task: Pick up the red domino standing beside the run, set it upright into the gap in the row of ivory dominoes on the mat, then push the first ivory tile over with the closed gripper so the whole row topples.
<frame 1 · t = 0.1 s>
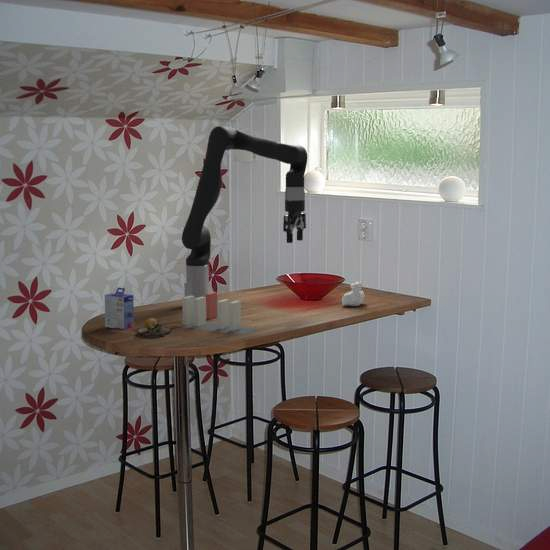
hand: (294, 241, 289), 29 cm above the counter, tool pointing down, fingers open, 8 cm apart
red domino: (211, 318, 291), on the counter
domino d: (235, 329, 271), point 1 cm above the counter, touching mat
duck figurine: (354, 305, 315), on the counter
domino a: (188, 323, 280), point 1 cm above the counter, touching mat
domino c: (223, 327, 273), point 1 cm above the counter, touching mat
domino b: (200, 324, 278), point 1 cm above the counter, touching mat
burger: (154, 335, 267), on the counter
mat: (217, 328, 274), on the counter
ink cartridge box: (119, 328, 277), on the counter
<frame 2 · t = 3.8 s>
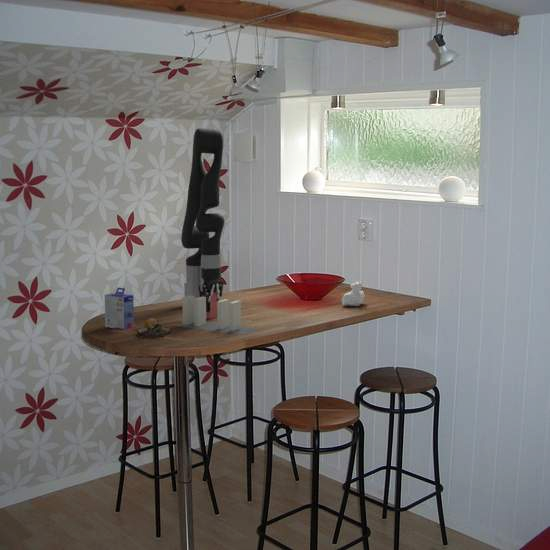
hand: (211, 309, 290), 3 cm above the counter, tool pointing down, fingers closed on red domino, 5 cm apart
red domino: (211, 318, 291), on the counter, touching gripper
everything else where it was.
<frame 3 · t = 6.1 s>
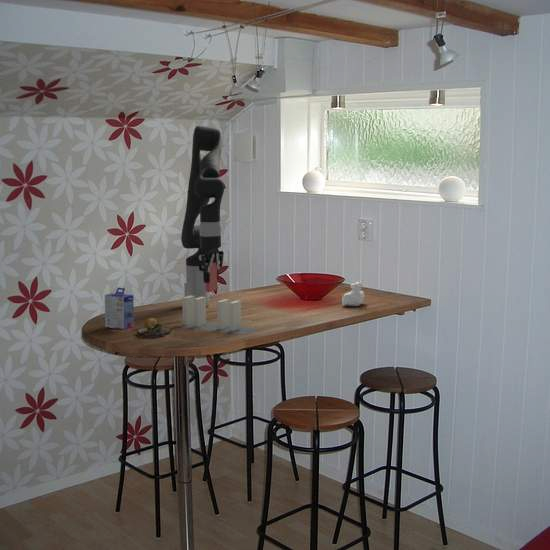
hand: (211, 281, 273), 17 cm above the counter, tool pointing down, fingers closed on red domino, 5 cm apart
red domino: (211, 290, 273), point 14 cm above the counter, touching gripper
everything else where it was.
when the fingers open (5 cm above the counter, at t = 8.8 s): red domino stays where it is, resting on mat.
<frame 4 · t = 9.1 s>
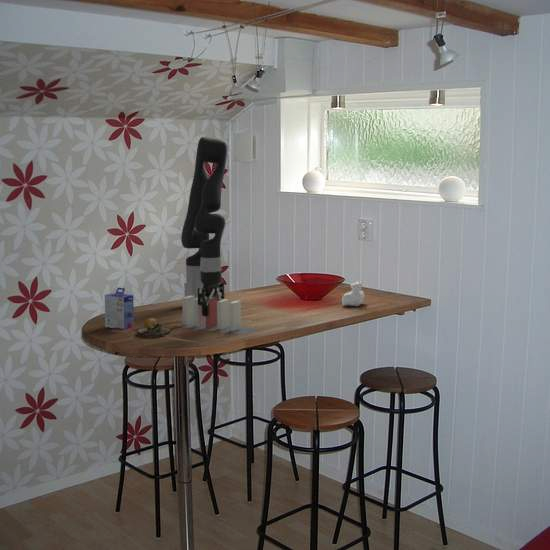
hand: (211, 313, 275), 5 cm above the counter, tool pointing down, fingers open, 8 cm apart
red domino: (211, 326, 275), point 1 cm above the counter, touching mat
everything else where it was.
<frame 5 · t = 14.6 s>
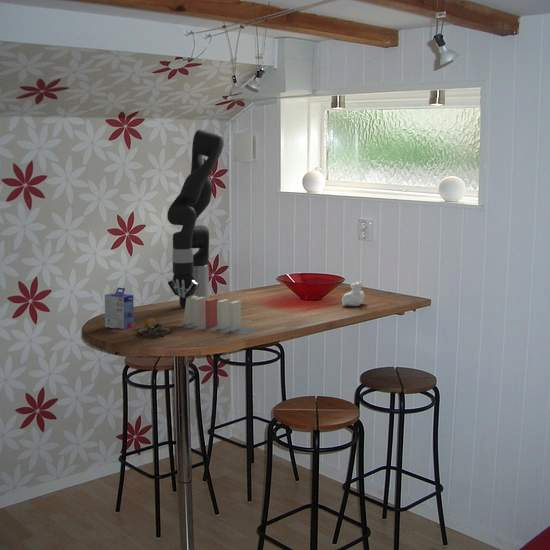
hand: (183, 307, 280), 7 cm above the counter, tool pointing down, fingers closed
domino a: (189, 323, 280), point 1 cm above the counter, tilted 10°, touching mat
everything else where it was.
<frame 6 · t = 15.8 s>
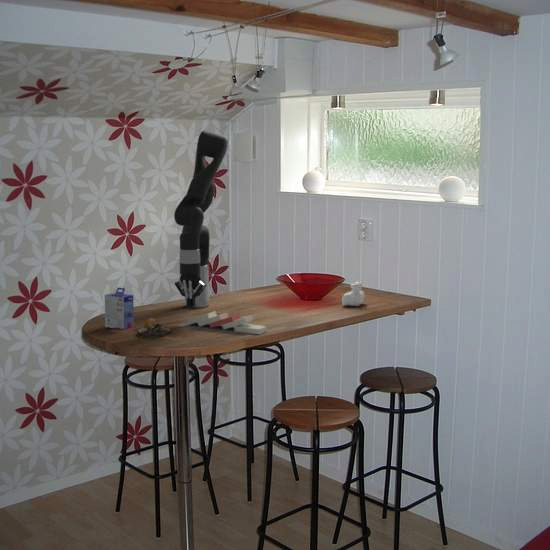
hand: (190, 308, 279), 6 cm above the counter, tool pointing down, fingers closed
red domino: (214, 324, 275), point 1 cm above the counter, tilted 69°, touching domino b, domino c, mat
domino d: (238, 327, 270), point 1 cm above the counter, tilted 90°, touching domino c, mat
domino a: (191, 321, 279), point 1 cm above the counter, tilted 69°, touching domino b
domino c: (226, 325, 272), point 2 cm above the counter, tilted 69°, touching domino d, red domino
domino b: (202, 322, 277), point 1 cm above the counter, tilted 69°, touching domino a, mat, red domino
everything else where it was.
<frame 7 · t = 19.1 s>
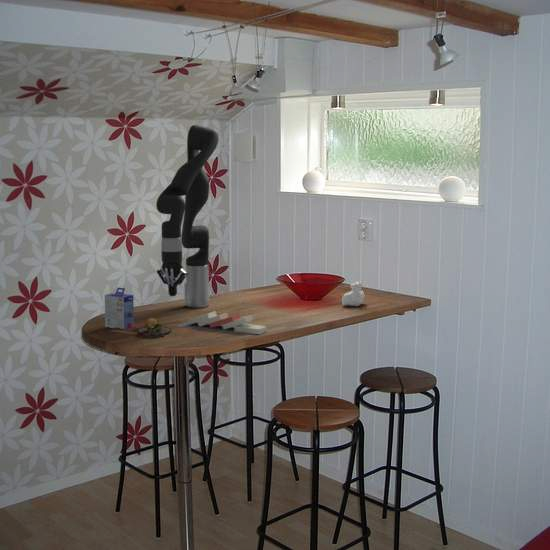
hand: (172, 295, 282), 10 cm above the counter, tool pointing down, fingers closed
nothing on the counter moved.
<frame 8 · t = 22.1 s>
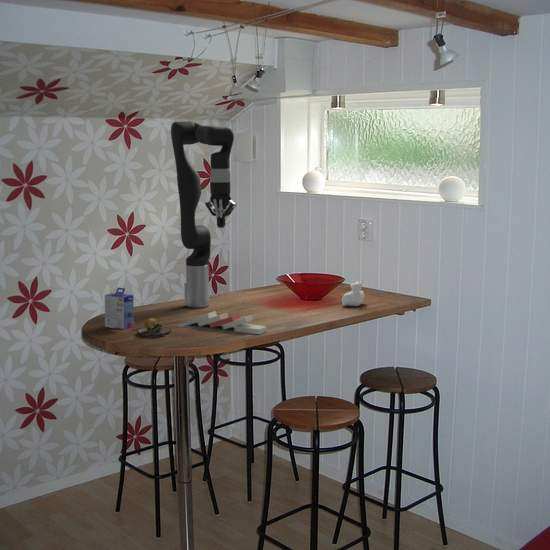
hand: (221, 227, 285), 35 cm above the counter, tool pointing down, fingers closed
nothing on the counter moved.
at the end: domino d tilted 90°; red domino inside the target area (1.0 cm from its centre), point 1.4 cm above the counter; red domino tilted 69° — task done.
